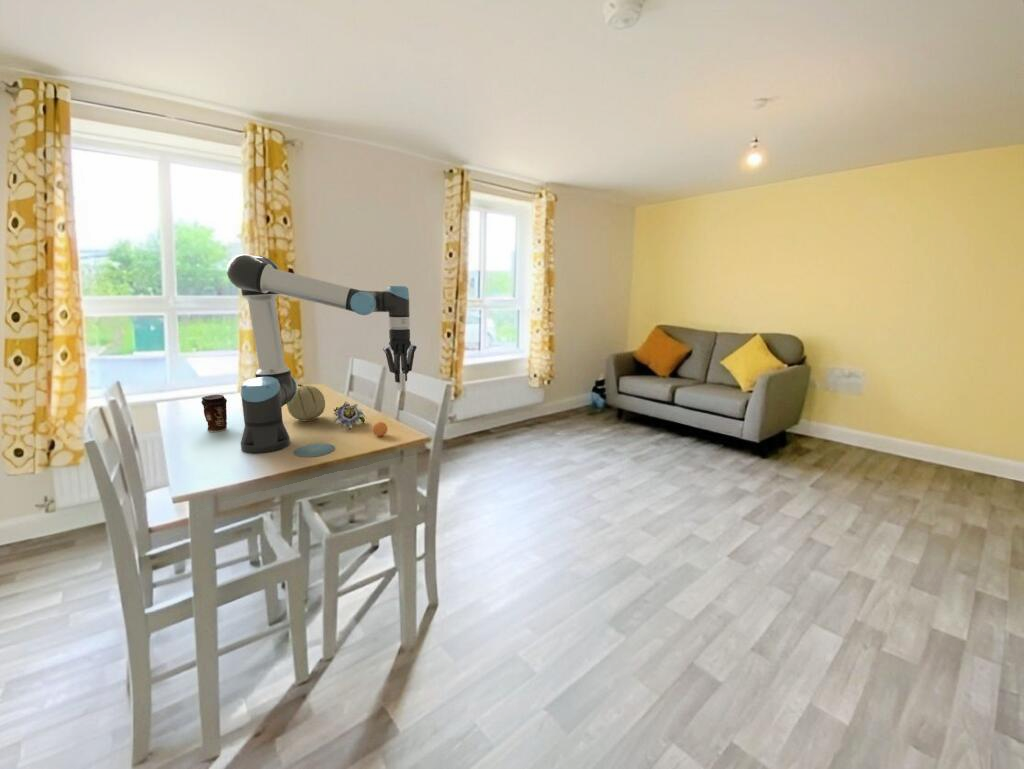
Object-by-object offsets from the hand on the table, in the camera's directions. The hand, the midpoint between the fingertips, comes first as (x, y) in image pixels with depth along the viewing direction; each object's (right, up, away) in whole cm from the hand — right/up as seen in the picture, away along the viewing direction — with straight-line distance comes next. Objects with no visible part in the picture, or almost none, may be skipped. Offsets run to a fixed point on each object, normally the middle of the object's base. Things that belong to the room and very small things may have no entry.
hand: (401, 390), depth 179 cm
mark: (-25, -20, -19) cm, 37 cm away
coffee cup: (-71, -15, +1) cm, 73 cm away
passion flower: (-23, -15, +9) cm, 29 cm away
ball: (-7, -15, -3) cm, 17 cm away
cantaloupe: (-42, -13, +15) cm, 47 cm away
